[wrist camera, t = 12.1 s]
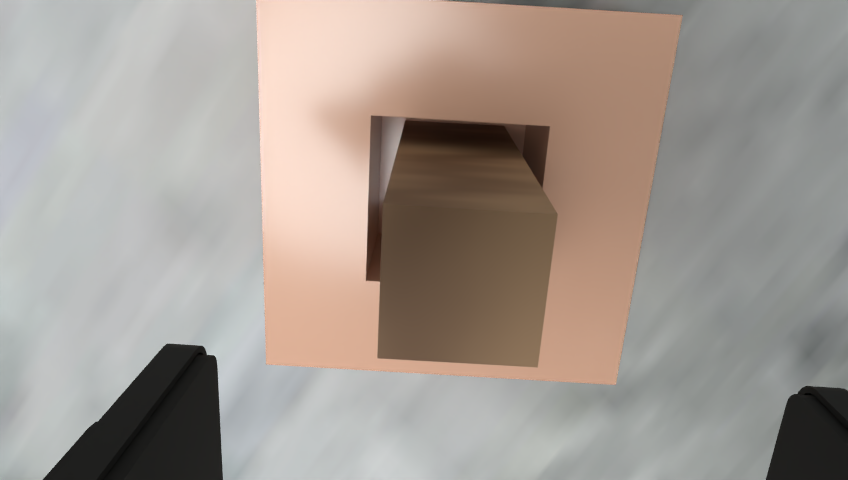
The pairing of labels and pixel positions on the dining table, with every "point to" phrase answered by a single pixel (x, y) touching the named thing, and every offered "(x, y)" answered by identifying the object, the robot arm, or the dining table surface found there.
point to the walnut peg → (463, 249)
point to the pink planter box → (467, 104)
